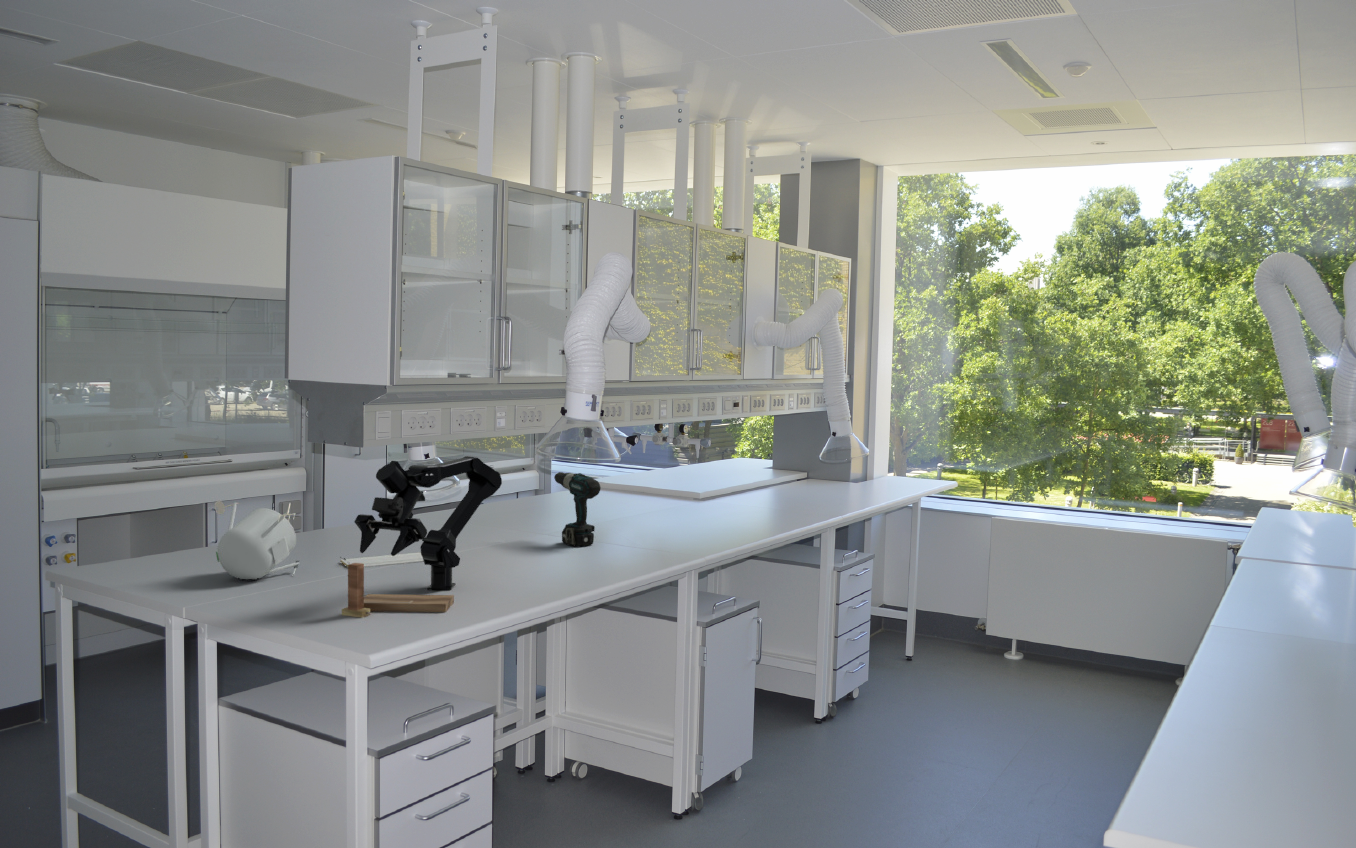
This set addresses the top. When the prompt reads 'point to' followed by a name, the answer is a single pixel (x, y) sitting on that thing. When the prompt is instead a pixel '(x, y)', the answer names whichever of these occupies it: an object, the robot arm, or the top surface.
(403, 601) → the tan wooden flat board
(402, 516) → the robot arm
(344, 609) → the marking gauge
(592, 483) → the power drill
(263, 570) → the satellite
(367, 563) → the baseboard molding
